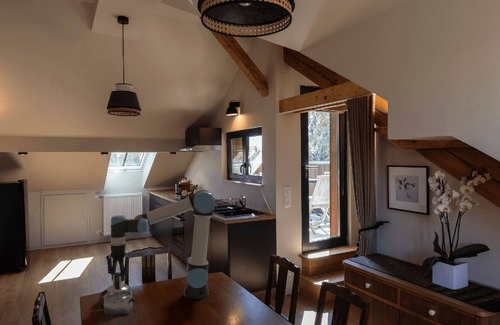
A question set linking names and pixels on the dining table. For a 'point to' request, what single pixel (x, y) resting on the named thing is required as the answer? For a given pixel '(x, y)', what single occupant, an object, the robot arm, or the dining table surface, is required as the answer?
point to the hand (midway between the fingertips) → (118, 286)
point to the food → (103, 295)
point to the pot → (118, 303)
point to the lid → (117, 285)
